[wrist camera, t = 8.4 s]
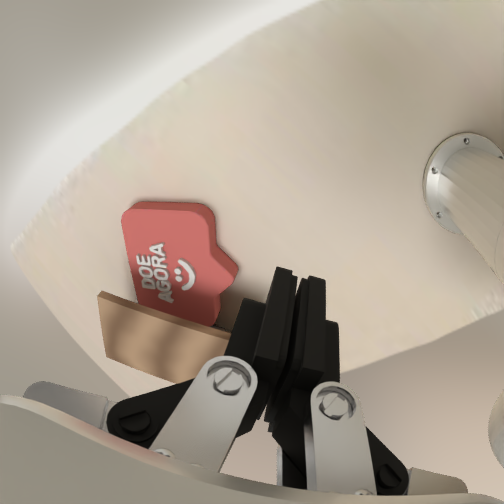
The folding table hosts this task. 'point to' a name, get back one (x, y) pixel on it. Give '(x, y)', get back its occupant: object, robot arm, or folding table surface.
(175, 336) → the overhang ledge
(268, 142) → the folding table surface
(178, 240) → the plaque
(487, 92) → the folding table surface
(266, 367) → the robot arm
